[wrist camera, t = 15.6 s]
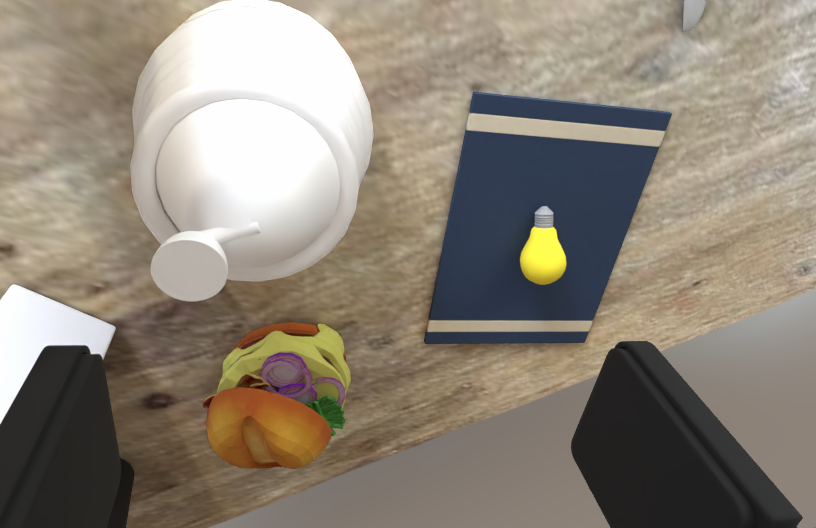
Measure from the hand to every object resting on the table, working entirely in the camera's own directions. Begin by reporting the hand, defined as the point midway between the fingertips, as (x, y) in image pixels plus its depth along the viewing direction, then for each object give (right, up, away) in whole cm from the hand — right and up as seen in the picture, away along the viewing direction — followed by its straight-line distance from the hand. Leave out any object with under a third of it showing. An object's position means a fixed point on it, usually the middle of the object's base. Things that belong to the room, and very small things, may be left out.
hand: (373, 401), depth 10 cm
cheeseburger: (-10, -6, +36) cm, 37 cm away
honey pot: (-9, +12, +25) cm, 29 cm away
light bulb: (+11, +5, +33) cm, 35 cm away
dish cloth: (+11, +5, +33) cm, 35 cm away
